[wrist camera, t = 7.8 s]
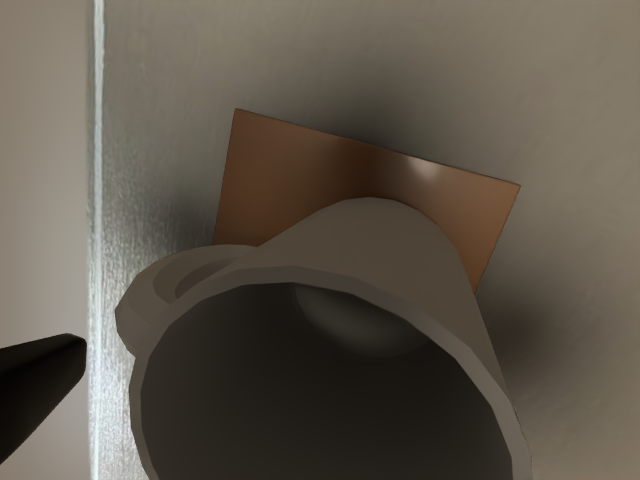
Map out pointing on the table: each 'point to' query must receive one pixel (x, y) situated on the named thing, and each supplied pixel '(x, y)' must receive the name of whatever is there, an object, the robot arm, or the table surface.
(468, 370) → the cup
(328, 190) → the coaster
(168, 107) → the table surface
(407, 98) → the table surface
